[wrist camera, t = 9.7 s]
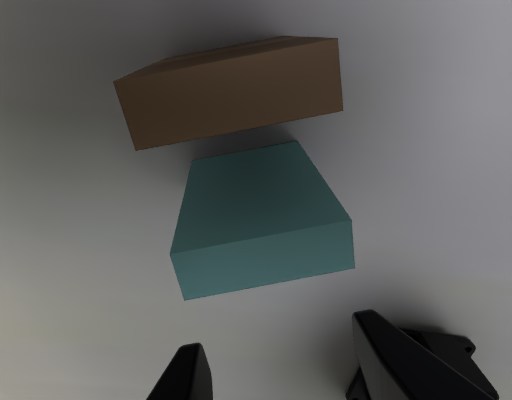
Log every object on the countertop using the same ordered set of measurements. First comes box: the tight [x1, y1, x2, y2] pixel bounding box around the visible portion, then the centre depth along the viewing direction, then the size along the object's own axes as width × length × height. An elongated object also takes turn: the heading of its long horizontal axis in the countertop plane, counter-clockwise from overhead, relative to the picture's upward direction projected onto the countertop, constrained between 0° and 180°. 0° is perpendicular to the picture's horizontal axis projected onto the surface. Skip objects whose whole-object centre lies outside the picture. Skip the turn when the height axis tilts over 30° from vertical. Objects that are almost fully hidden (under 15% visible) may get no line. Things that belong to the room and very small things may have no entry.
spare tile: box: [170, 141, 355, 301], centre depth 14 cm, size 2×5×8 cm, turn 100°
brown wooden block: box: [113, 36, 343, 151], centre depth 12 cm, size 2×5×8 cm, turn 100°
